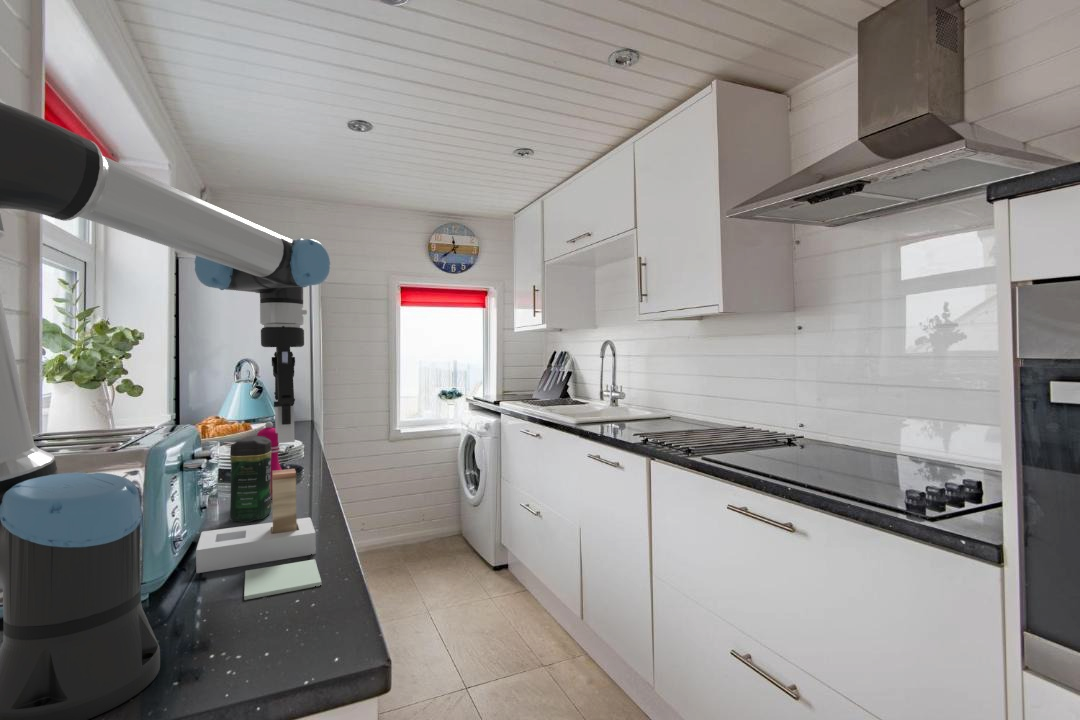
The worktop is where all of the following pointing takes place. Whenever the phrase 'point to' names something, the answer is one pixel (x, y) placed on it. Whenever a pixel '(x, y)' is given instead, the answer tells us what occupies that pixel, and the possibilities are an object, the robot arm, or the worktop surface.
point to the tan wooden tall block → (284, 500)
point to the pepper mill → (272, 446)
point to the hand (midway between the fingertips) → (284, 437)
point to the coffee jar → (250, 479)
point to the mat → (281, 579)
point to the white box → (253, 545)
